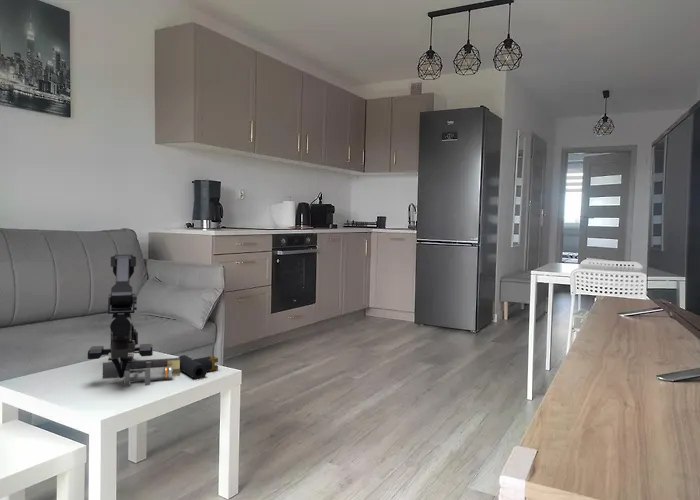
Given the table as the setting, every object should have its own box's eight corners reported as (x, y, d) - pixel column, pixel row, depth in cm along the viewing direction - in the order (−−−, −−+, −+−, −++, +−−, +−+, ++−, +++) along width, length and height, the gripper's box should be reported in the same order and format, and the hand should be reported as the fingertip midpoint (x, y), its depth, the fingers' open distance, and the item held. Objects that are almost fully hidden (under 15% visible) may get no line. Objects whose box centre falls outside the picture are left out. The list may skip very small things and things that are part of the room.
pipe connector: (206, 350, 185) (224, 359, 174) (207, 365, 186) (224, 375, 174) (175, 356, 178) (192, 365, 166) (175, 370, 178) (192, 381, 167)
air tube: (125, 384, 161) (126, 371, 161) (126, 380, 165) (126, 368, 164) (172, 380, 166) (172, 367, 166) (172, 376, 170) (172, 365, 170)
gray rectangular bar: (102, 377, 167) (102, 362, 167) (179, 371, 175) (179, 357, 175) (101, 381, 163) (101, 366, 163) (179, 375, 171) (180, 360, 171)
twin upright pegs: (126, 377, 167) (126, 362, 167) (150, 376, 170) (150, 361, 170) (124, 386, 158) (124, 370, 158) (150, 384, 161) (150, 369, 161)
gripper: (85, 336, 151) (84, 387, 151) (152, 333, 157) (151, 383, 158) (90, 328, 161) (90, 377, 162) (153, 326, 168) (152, 373, 168)
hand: (121, 377), depth 162 cm, fingers closed
